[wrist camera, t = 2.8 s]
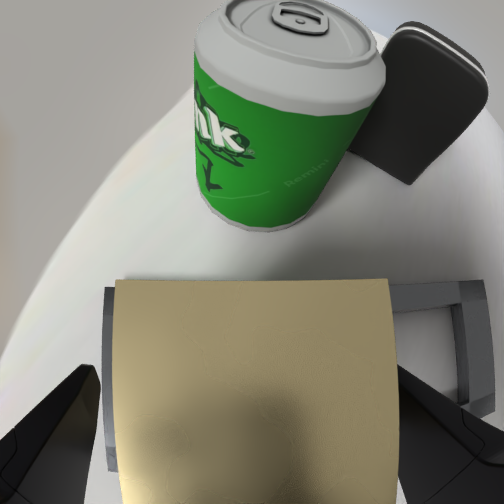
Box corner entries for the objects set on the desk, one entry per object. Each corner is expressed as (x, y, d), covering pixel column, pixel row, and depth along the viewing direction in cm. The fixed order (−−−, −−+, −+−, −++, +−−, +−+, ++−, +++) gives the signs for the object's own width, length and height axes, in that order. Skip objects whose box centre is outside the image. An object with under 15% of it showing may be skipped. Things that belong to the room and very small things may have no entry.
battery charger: (418, 160, 23) (495, 67, 13) (411, 190, 22) (502, 92, 11) (347, 116, 24) (404, 5, 13) (333, 143, 22) (396, 19, 12)
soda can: (316, 154, 22) (382, 13, 11) (307, 251, 19) (414, 110, 8) (212, 132, 21) (223, -25, 10) (183, 226, 19) (162, 50, 7)
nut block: (276, 426, 15) (394, 515, 4) (182, 429, 15) (131, 543, 3) (272, 338, 17) (387, 278, 6) (179, 339, 16) (115, 279, 5)
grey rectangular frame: (484, 410, 16) (494, 411, 15) (114, 465, 13) (108, 471, 12) (473, 284, 20) (483, 279, 19) (111, 292, 17) (104, 286, 15)
